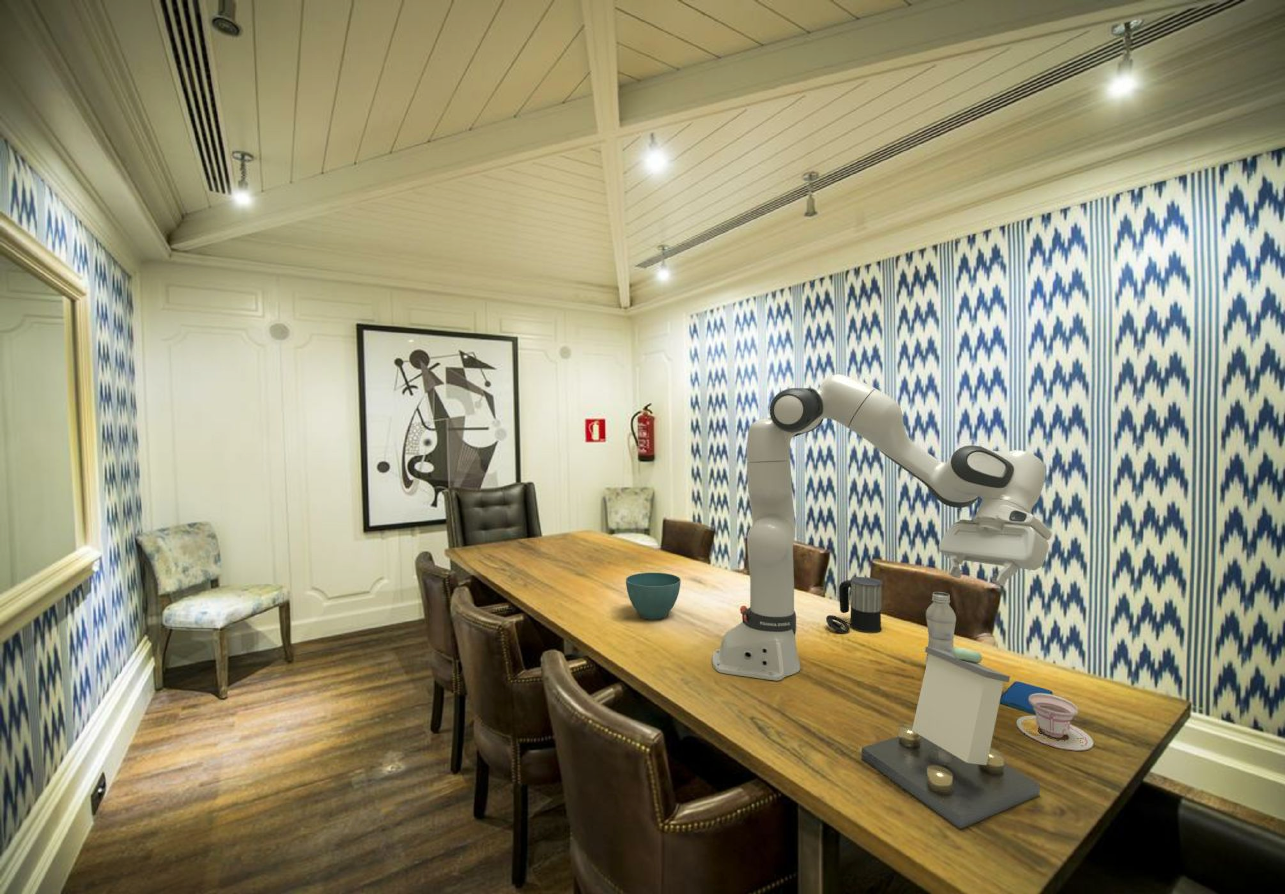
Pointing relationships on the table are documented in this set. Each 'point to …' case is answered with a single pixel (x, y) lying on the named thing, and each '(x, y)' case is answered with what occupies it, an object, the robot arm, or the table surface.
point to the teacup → (1056, 722)
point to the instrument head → (959, 704)
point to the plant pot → (653, 593)
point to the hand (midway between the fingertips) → (974, 579)
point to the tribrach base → (965, 781)
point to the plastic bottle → (940, 623)
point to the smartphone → (1021, 696)
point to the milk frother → (859, 605)
